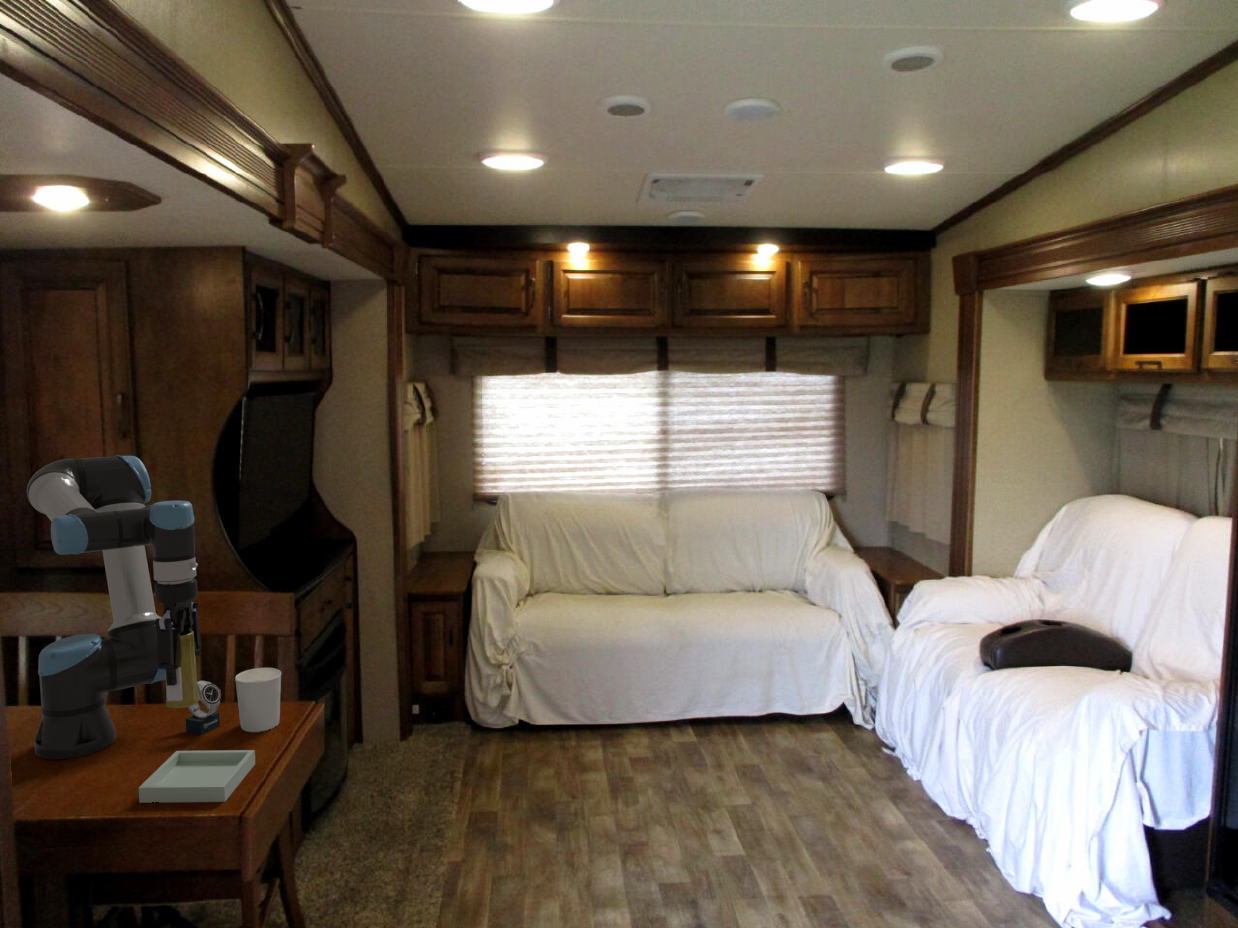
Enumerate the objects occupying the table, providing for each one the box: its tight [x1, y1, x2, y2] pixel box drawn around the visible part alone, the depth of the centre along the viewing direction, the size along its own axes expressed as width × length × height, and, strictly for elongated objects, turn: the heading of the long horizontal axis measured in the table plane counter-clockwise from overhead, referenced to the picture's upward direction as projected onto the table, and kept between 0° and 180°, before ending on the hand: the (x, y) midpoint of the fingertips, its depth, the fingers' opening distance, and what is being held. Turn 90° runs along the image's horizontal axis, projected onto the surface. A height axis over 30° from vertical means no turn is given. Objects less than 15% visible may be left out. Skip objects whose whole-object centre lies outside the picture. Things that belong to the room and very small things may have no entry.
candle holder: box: [234, 667, 282, 733], centre depth 205 cm, size 10×10×12 cm
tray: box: [138, 749, 256, 804], centre depth 177 cm, size 16×16×3 cm
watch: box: [185, 680, 222, 736], centre depth 202 cm, size 6×8×11 cm
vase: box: [165, 630, 201, 709], centre depth 177 cm, size 6×6×14 cm
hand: (182, 693), depth 177 cm, fingers closed on vase, 6 cm apart
